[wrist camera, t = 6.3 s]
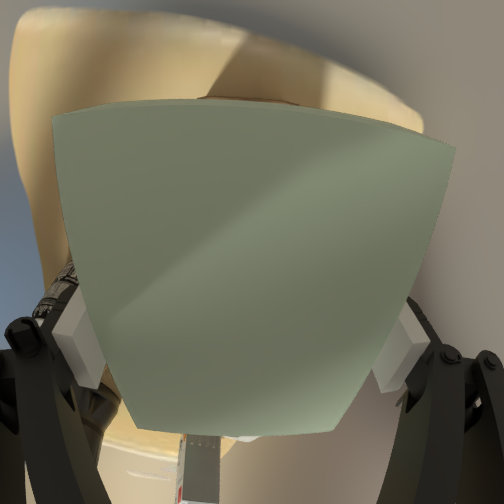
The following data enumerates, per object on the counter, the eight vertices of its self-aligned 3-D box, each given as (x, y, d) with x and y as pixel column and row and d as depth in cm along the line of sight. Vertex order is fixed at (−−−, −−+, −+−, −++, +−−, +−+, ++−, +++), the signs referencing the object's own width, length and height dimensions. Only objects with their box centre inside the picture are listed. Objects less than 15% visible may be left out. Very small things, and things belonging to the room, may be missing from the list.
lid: (152, 356, 17) (137, 428, 12) (122, 101, 10) (51, 116, 5) (316, 361, 18) (332, 430, 13) (378, 119, 10) (456, 147, 6)
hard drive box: (187, 417, 57) (182, 499, 40) (221, 423, 59) (221, 503, 42) (178, 441, 65) (173, 508, 48) (207, 445, 66) (206, 512, 49)
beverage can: (93, 302, 40) (64, 364, 29) (59, 276, 37) (21, 333, 27) (113, 278, 37) (81, 343, 27) (76, 248, 35) (33, 307, 25)
